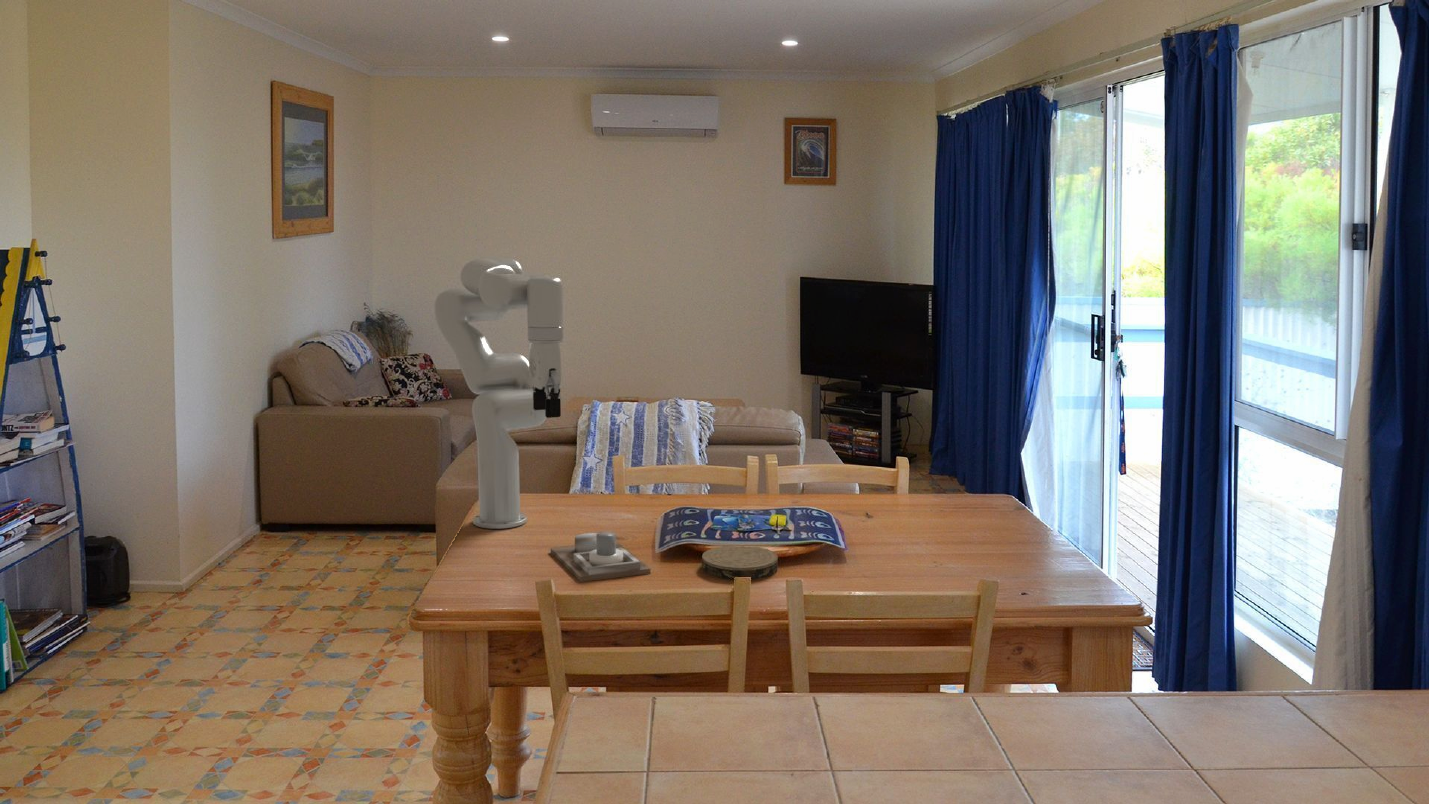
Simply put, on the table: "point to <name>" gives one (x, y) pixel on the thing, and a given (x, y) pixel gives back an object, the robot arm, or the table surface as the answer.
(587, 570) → the carrier board
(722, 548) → the grey brown round disc
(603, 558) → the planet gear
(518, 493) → the robot arm
